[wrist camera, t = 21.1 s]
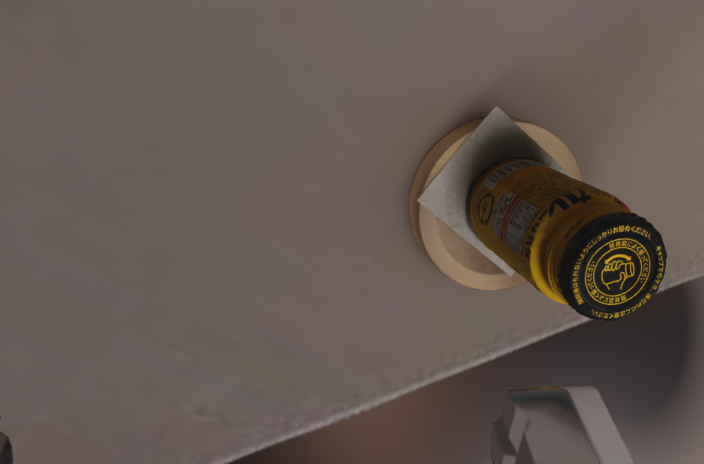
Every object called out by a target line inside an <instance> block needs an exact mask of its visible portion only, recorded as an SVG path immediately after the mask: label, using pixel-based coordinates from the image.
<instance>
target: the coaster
mask: <svg viewBox="0 0 704 464" xmlns="http://www.w3.org/2000/svg"><path fill="white" fill-rule="evenodd" d="M484 119H485V118H482V119H478V120H474V121H471V122H468V123H466V124H464V125H461V126H460V127H458V128H456V129H454V130H453V131H451V132H450V133H448V134H447V135H446V136H444V137H443V138H442V139H441V140H440V141H439V142H438V143H437V144H436V145H435V146H434V147H433V148H432V149H431V150H430V152H429V153H428V154H427V155H426V157H425V159H424V160H423V162H422V163H421V165H420V167H419V169H418V171H417V173H416V176H415V179H414V182H413V185H412V190H411V195H410V207H409V208H410V220H411V225H412V229H413V232H414V235H415V237H416V240H417V241H418V243H419V245H420V247H421V248H422V250H423V251H424V253H425V254H426V255H427V256H428V257H429V259H430V260H431V261H432V262H433V263H434V264H435V265H436V266H437V267H438V268H439V269H440V270H441V271H442V272H443V273H444V274H445V275H446V276H448V277H449V278H450V279H452V280H454V281H456V282H457V283H459V284H462V285H464V286H467V287H470V288H474V289H479V290H502V289H508V288H512V287H516V286H519V285H522V284H524V283H526V282H528V281H527V280H526V279H525V278H524V277H523V276H521V275H520V274H518V273H517V272H515V273H514V274H513V275H512V277H511V276H510V275H508V274H507V273H506V272H505V271H503V270H502V269H501V268H500V267H498V266H497V265H496V264H495V263H494V262H492V261H491V260H490V259H489V258H487V257H486V256H485V255H484V254H482V253H481V252H480V251H479V250H477V249H476V248H475V247H474V246H473V245H471V244H470V243H469V242H468V241H466V240H465V239H464V238H463V237H461V236H460V235H459V234H458V233H456V232H455V231H454V230H453V229H451V228H450V227H449V226H448V225H447V224H446V223H444V222H443V221H442V220H440V219H439V218H438V217H437V216H435V215H434V214H433V213H432V212H430V211H429V210H428V209H427V208H426V207H424V206H423V205H422V204H421V203H419V202H418V201H417V200H418V199H419V197H420V196H421V195H422V194H423V193H424V191H425V190H426V189H427V188H428V186H429V185H430V183H431V182H432V181H433V180H434V179H435V178H436V177H437V175H438V174H439V173H440V172H441V171H442V169H443V168H444V167H445V165H446V164H447V162H448V161H449V160H450V159H451V158H452V157H453V156H454V155H455V153H456V152H457V151H458V150H459V148H460V147H461V146H462V145H463V144H464V142H465V141H466V140H467V139H468V138H469V137H470V136H471V135H472V133H473V132H474V131H475V130H476V128H477V127H478V126H479V125H480V124H481V123H482V121H483V120H484ZM510 119H512V120H513V121H514V122H515V123H516V124H517V125H518V126H519V127H520V128H521V129H522V130H523V131H524V132H526V134H527V135H529V136H530V137H531V138H532V139H533V140H534V141H535V142H536V143H537V144H538V145H539V146H540V147H542V148H543V149H544V150H545V151H546V152H547V153H548V154H549V155H550V156H551V157H552V158H553V159H554V160H555V161H556V162H557V163H558V164H559V165H560V166H562V167H563V168H564V169H565V170H566V171H567V172H568V173H569V174H570V175H571V176H572V177H574V178H575V179H576V180H579V181H581V182H582V177H581V173H580V170H579V167H578V165H577V162H576V160H575V158H574V157H573V155H572V153H571V152H570V150H569V149H568V148H567V146H566V145H565V144H564V143H563V142H562V141H561V140H560V139H559V138H558V137H557V136H555V135H554V134H552V133H551V132H549V131H548V130H546V129H543V128H541V127H539V126H536V125H533V124H530V123H527V122H524V121H520V120H517V119H514V118H510Z"/></svg>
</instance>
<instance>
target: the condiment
mask: <svg viewBox="0 0 704 464" xmlns="http://www.w3.org/2000/svg"><path fill="white" fill-rule="evenodd" d="M417 201H418V202H419V203H421V204H422V205H423V206H424V207H426V208H427V209H428V210H429V211H430V212H432V213H433V214H434V215H435V216H437V217H438V218H439V219H440V220H442V221H443V222H444V223H446V224H447V225H448V226H449V227H450V228H451V229H453V230H454V231H455V232H456V233H458V234H459V235H460V236H461V237H463V238H464V239H465V240H466V241H468V242H469V243H470V244H471V245H473V246H474V247H475V248H476V249H477V250H479V251H480V252H481V253H482V254H484V255H485V256H486V257H487V258H489V259H490V260H491V261H492V262H494V263H495V264H496V265H497V266H498V267H500V268H501V269H502V270H503V271H505V272H506V273H507V274H508V275H510V276H511V277H512V275H513V274H514V273H515V272H517V273H518V274H520V275H521V276H523V277H524V278H525V279H526V280H527V281H528V282H529V283H531V284H532V285H533V286H534V287H535V288H536V289H537V290H538V291H540V292H542V293H543V294H544V295H545V296H546V297H548V298H550V299H551V300H554V301H556V302H559V303H563V304H567V305H568V306H570V307H572V308H573V309H575V310H576V312H578V313H579V314H581V315H584V316H586V317H588V318H591V319H601V320H605V321H614V320H617V319H621V318H624V317H626V316H628V315H630V314H632V313H634V312H636V311H637V310H638V309H640V308H641V307H642V306H644V304H645V303H646V302H647V301H648V300H649V299H651V297H652V296H653V295H654V293H656V292H657V291H658V288H659V284H660V283H661V281H662V279H663V277H664V274H665V267H666V258H667V253H666V250H665V246H664V243H663V240H662V237H661V235H660V233H659V232H658V231H657V230H656V229H655V228H654V227H653V225H652V224H651V223H650V222H647V221H646V219H645V218H643V217H639V216H638V215H637V214H635V213H631V211H630V210H629V208H628V207H627V206H626V205H625V204H624V203H622V202H621V201H620V200H619V199H618V198H617V197H615V196H613V195H611V194H609V193H607V192H605V191H602V190H600V189H597V188H595V187H593V186H590V185H588V184H585V183H583V182H581V181H579V180H576V179H575V178H574V177H572V176H571V175H570V174H569V173H568V172H567V171H566V170H565V169H564V168H563V167H562V166H560V165H559V164H558V163H557V162H556V161H555V160H554V159H553V158H552V157H551V156H550V155H549V154H548V153H547V152H546V151H545V150H544V149H543V148H542V147H540V146H539V145H538V144H537V143H536V142H535V141H534V140H533V139H532V138H531V137H530V136H529V135H527V134H526V132H524V131H523V130H522V129H521V128H520V127H519V126H518V125H517V124H516V123H515V122H514V121H513V120H512V119H510V117H509V116H508V115H506V114H505V113H504V112H503V111H502V110H501V109H500V108H499V107H498V106H496V107H495V108H494V109H493V110H492V111H491V113H490V114H489V115H488V116H487V117H486V118H485V119H484V120H483V121H482V123H481V124H480V125H479V126H478V127H477V128H476V130H475V131H474V132H473V133H472V135H471V136H470V137H469V138H468V139H467V140H466V141H465V142H464V144H463V145H462V146H461V147H460V148H459V150H458V151H457V152H456V153H455V155H454V156H453V157H452V158H451V159H450V160H449V161H448V162H447V164H446V165H445V167H444V168H443V169H442V171H441V172H440V173H439V174H438V175H437V177H436V178H435V179H434V180H433V181H432V182H431V183H430V185H429V186H428V188H427V189H426V190H425V191H424V193H423V194H422V195H421V196H420V197H419V199H418V200H417Z"/></svg>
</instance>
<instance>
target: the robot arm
mask: <svg viewBox="0 0 704 464" xmlns="http://www.w3.org/2000/svg"><path fill="white" fill-rule="evenodd" d="M498 407H499V410H500V414H501V417H500V418H498V419H497V420H496V421H495V422H494V423H493V427H492V433H491V456H492V462H493V464H635V463H634V461H633V459H632V457H631V455H630V453H629V451H628V449H627V447H626V445H625V443H624V441H623V439H622V437H621V436H620V433H619V431H618V430H617V428H616V426H615V424H614V422H613V420H612V418H611V416H610V414H609V412H608V410H607V408H606V406H605V404H604V402H603V400H602V398H601V396H600V394H599V392H598V391H597V390H596V389H595V388H594V387H593V386H585V387H562V388H561V387H542V388H515V389H504V390H503V391H502V392H501V394H500V398H499V401H498ZM0 418H1V417H0ZM0 464H13V454H12V446H11V444H10V441H9V438H8V436H6V435H5V434H3V433H2V432H0Z"/></svg>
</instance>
